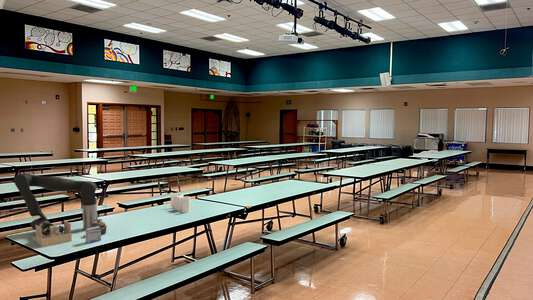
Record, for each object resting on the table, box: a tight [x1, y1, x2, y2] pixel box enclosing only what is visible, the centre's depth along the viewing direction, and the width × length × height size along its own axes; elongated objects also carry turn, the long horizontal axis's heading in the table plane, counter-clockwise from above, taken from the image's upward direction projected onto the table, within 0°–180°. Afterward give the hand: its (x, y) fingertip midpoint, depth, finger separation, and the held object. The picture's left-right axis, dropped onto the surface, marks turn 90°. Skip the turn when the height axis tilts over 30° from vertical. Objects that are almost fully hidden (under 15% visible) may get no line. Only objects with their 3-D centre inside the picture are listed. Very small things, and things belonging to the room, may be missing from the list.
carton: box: [31, 219, 73, 248], centre depth 253 cm, size 17×25×11 cm
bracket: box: [170, 193, 192, 214], centre depth 337 cm, size 25×10×12 cm, turn 36°
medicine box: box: [84, 226, 102, 244], centre depth 249 cm, size 8×4×9 cm, turn 138°
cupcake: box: [91, 218, 108, 236], centre depth 265 cm, size 10×10×10 cm
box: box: [50, 224, 60, 237], centre depth 248 cm, size 4×5×10 cm
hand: (54, 232), depth 248 cm, fingers open, 8 cm apart
